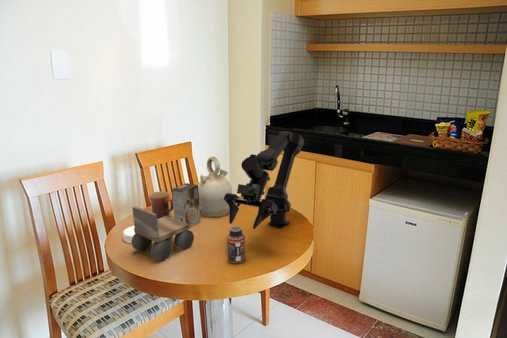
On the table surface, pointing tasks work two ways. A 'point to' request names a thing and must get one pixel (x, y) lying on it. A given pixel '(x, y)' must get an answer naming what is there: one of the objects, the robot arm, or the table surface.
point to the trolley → (159, 233)
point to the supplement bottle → (236, 245)
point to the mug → (161, 203)
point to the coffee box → (186, 203)
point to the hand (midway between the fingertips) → (241, 225)
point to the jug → (214, 191)
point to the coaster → (128, 234)
